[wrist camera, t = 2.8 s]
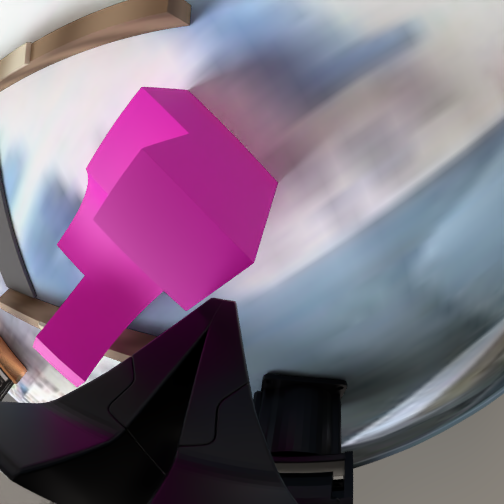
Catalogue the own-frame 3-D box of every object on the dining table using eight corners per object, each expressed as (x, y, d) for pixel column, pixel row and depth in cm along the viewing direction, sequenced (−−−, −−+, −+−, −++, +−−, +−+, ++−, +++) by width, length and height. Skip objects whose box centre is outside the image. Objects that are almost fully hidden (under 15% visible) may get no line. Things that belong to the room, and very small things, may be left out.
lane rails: (191, 3, 9) (165, -16, 6) (202, 356, 20) (190, 386, 18) (-29, 99, 12) (-51, 105, 9) (14, 296, 23) (-1, 311, 20)
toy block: (189, 90, 12) (83, 87, 5) (278, 181, 13) (253, 263, 7) (70, 257, 18) (6, 317, 12) (126, 313, 20) (77, 387, 13)
